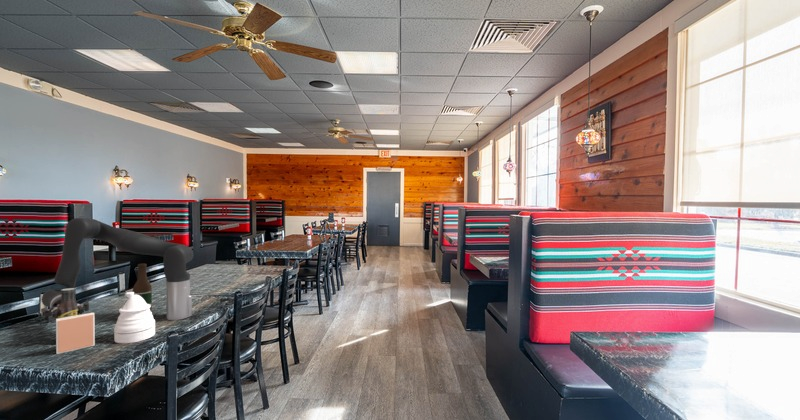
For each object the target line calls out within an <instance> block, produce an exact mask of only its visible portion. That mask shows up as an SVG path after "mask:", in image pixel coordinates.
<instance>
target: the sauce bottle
mask: <svg viewBox="0 0 800 420" xmlns="http://www.w3.org/2000/svg"><path fill="white" fill-rule="evenodd" d="M61 289H62V288H61ZM61 294H62V299H61V303H60V304H59V306H58V308H57V318H55V320H56V319H59V318H65V317H71V316H76V315H80V314H79V308H78V305H77V303H78V302H77V303H76V301H77V300H76V287H75V288H67V287H66V288H63V289H62V290H61ZM75 300H76V301H75Z"/></svg>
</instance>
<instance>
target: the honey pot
mask: <svg viewBox="0 0 800 420" xmlns="http://www.w3.org/2000/svg"><path fill="white" fill-rule="evenodd" d="M125 297H127V298H128V299H127V300H126V302H125V304H124V305H123V306H122V307H121V308H119V309H118V312H119V313H120V314H119V315H118V317H117V321H116V324H115V325H114V335H113V337H114V342H115V343H117V344H128V343H129V344H131V343H137V342H141V341H144V340H147V339H150V338H152V337H154V336H155V335H156V319H154V315H153V312H151V311H150V309H149V308H150V307H151V305H150V304H147V303H146V302H145V300H144V299H143V298H142V297H141V296H139V295H137V294H136V295H134V292H133V291H127V292H126V293H125Z"/></svg>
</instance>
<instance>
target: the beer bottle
mask: <svg viewBox="0 0 800 420" xmlns="http://www.w3.org/2000/svg"><path fill="white" fill-rule="evenodd" d="M152 291H153V289H152V285H151V283H150V281H149V280H148V274H147V263H139V264H137V279H136V282H135V284H134V285H133V288H132V292H134V295H136V294H137V295H139V296H141V297H142V298H143V299H144V300H145V302H146V303H147V304H150V305H151V307H150V308H149V309H150V311H151V312H152V310H153V309H152V308H153V303H152V302H153V299H152V298H153V296H152V295H153V294H152ZM152 313H153V312H152Z"/></svg>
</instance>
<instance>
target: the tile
mask: <svg viewBox="0 0 800 420" xmlns="http://www.w3.org/2000/svg"><path fill="white" fill-rule="evenodd" d="M95 319H96V318H95V312H87V313H82V314H79V315H76V316H71V317H65V318H59V319H56V318H55V341H56V342H55V351H56V353H55V354H56V355H60V354H63V353H68V352H72V351H77V350H80V349H81V350H82V349H85V348H89V347H94V346H95V345H96V340H95V339H96V337H95V335H96V334H95V332H96V331H95V328H96V326H95V323H96V322H95Z"/></svg>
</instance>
